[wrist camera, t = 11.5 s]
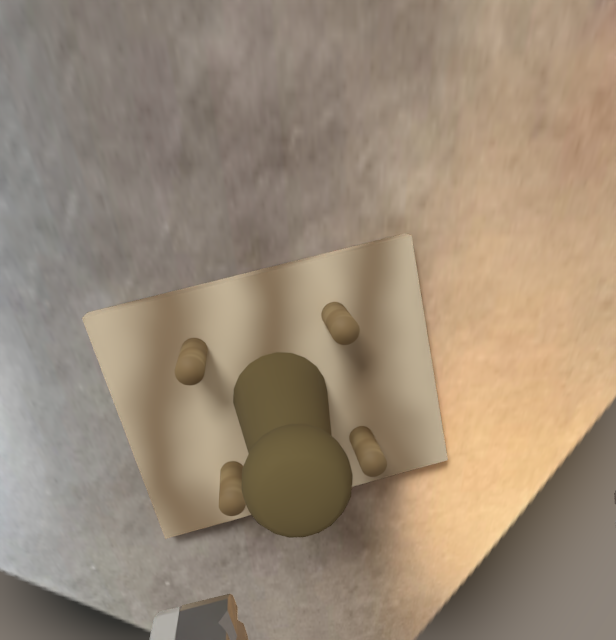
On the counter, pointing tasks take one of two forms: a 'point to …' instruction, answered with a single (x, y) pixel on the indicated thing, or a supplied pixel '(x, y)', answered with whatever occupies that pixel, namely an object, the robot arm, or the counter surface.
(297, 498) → the olive pawn figure
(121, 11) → the counter surface
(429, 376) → the wooden peg board
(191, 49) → the counter surface
